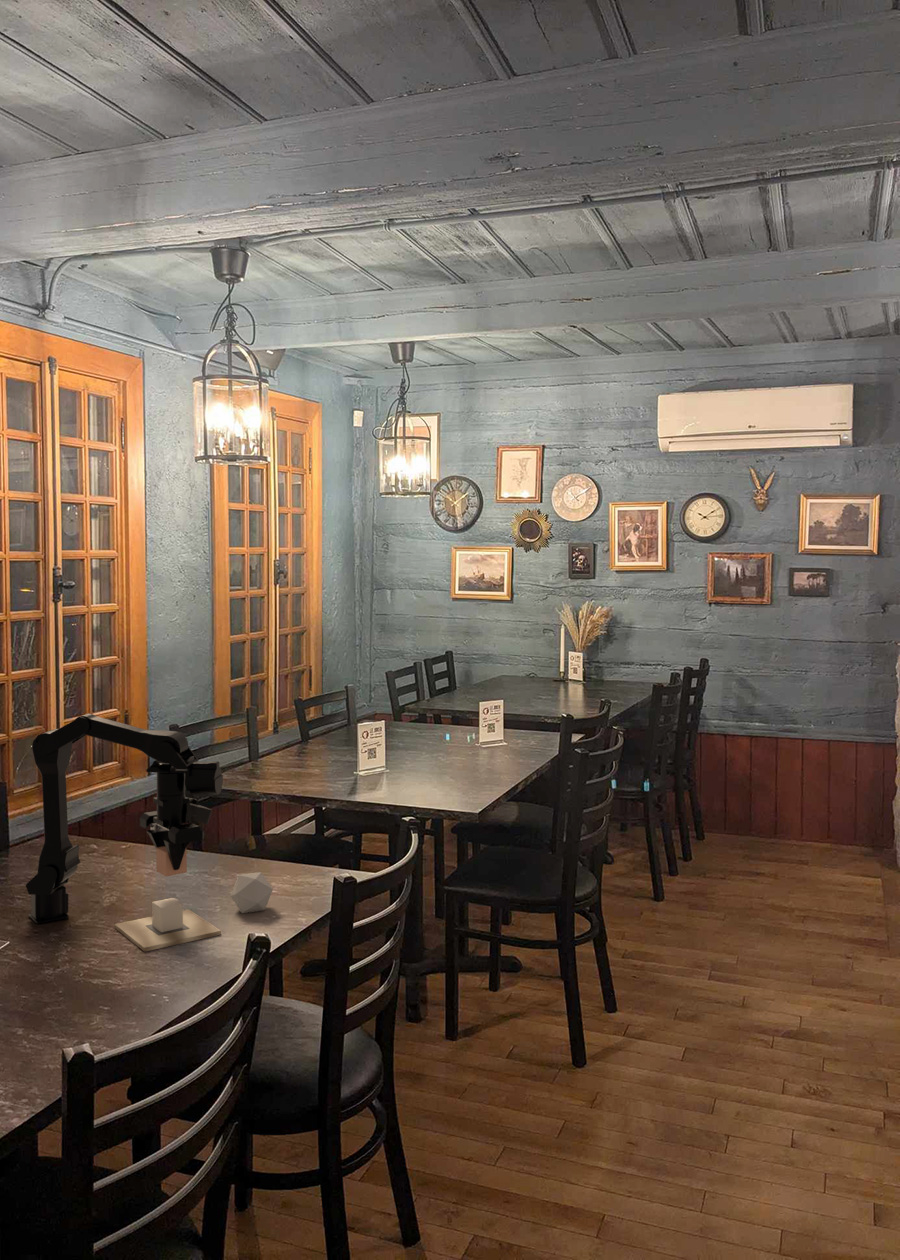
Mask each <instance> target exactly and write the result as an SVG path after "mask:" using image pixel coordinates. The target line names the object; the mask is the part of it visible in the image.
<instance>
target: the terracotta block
mask: <svg viewBox="0 0 900 1260" xmlns="http://www.w3.org/2000/svg"><path fill="white" fill-rule="evenodd" d="M155 850H156V851H155V852H156V853H155V854H156V857H155V858H156V868H155V869H156V872H157V873H159V874H160V875H162V876H164V877H170V876H175V875H182V874H186V873H187V872H188V867H187V866H188V860H187V859H188V858H187V857H188V855H187V854H188V852H187V851H188V850H187V848H186V850H185V852H184V855H183V859H182V862H181V865H180V868H179V869H178V870H174V869H173V867H172V864H171V861H170V858H169V855H168V852H167V849H166V846H164V847H158V848H155Z"/></svg>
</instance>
